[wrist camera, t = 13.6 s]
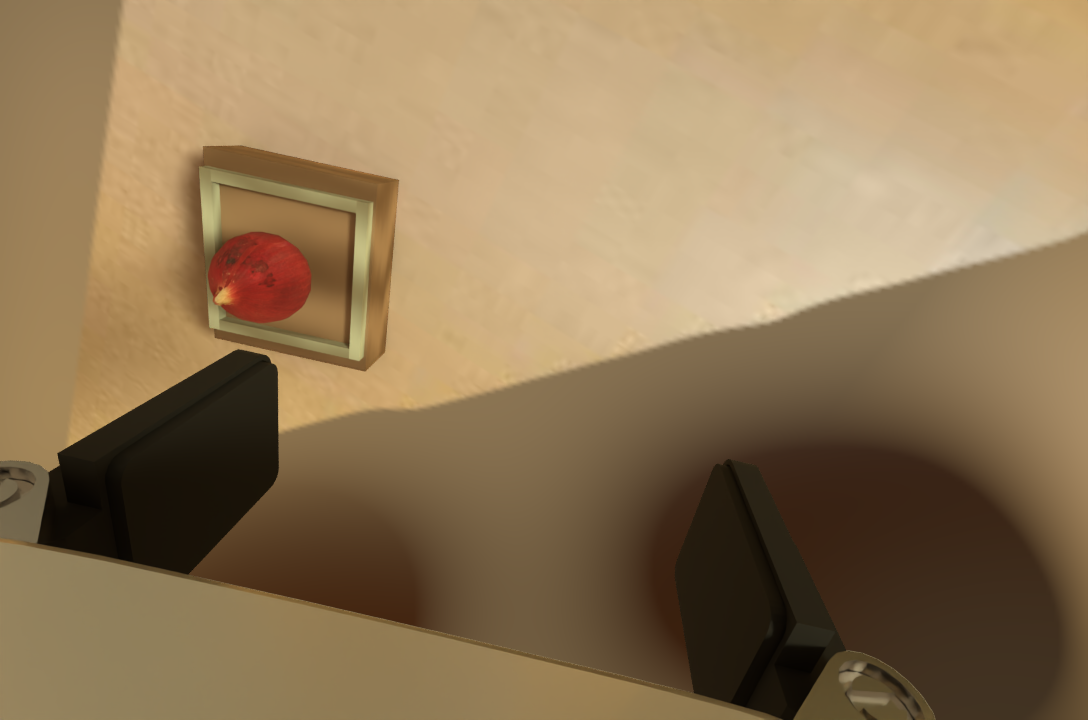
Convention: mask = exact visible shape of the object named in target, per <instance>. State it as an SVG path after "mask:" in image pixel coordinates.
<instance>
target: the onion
mask: <svg viewBox="0 0 1088 720" xmlns="http://www.w3.org/2000/svg"><path fill="white" fill-rule="evenodd" d="M208 281H209V287H210V291H211V293H212V295H213V302H214V303H215V305H219V306H221V307H222V308H223V309H224V310H225V311H226V312H228V313H230V314H232V315H234V316H236V317H237V318H239V319H242V320H245V321H250V322H256V323H269V322H275V321H280V320H284V319H286V318H289V317H290V316H291V315H293V314H294V313H295V312H297V311H298V310H299V309H301V308H302V306H303V305H304V304H305V302H306V300H307V298H308V296H309V293H310V291H311V271H310V268H309V265H308V262H307V260H306V258H305V257H304V256H303V254H302V253H301V252H300V250H299V249H298V248H297V247H296V246H294V245H293V244H291V243H290V242H288V241H287V240H286V239H284V238H282V237H281V236H279V235H275V234H270V233H265V232H250V233H246V234H243V235H240V236H236V237H234V238H232V239H229V240H228V241H227V242H226V243H225V244H224V245H223V246H222V247H221V248H220V249H219V250H218V252H217V253H216V254H215V255H214V256H213V258H212V260H211V264H210V267H209V271H208Z"/></svg>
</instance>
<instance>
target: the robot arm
mask: <svg viewBox="0 0 1088 720" xmlns="http://www.w3.org/2000/svg"><path fill="white" fill-rule="evenodd" d="M58 459H59V464H60V466H58V467H57V468H55V469H53V470H52V471H50V472H47V470H45V469H44V468H43V467H42V466H40V465H37V464H34V463H31V462H25V461H0V720H936V719H935V717H934V714H933V712H932V710H931V709H930V707H929V706H928V704H927V703H926V701H925V699H924V698H923V696H922V695H921V694H920V693H919V692H918V691H917V690H916V689H915V688H914V687H913V685H912V684H911V683H910V682H909V681H908V680H906V679H905V678H904V677H903V676H902V675H900V674H899V673H898V672H896V671H895V670H894V669H893V668H891V667H890V666H888V665H886V664H885V663H883V662H881V661H880V660H878V659H876V658H873V657H871V656H868V655H866V654H863V653H859V652H853V651H846V649H845V647H844V645H843V643H842V641H841V638H840V636H839V634H838V632H837V630H836V628H835V626H834V624H833V622H832V620H831V617H830V616H829V613H828V611H827V609H826V607H825V605H824V603H823V601H822V599H821V596H820V594H819V592H818V590H817V588H816V586H815V584H814V582H813V580H812V578H811V576H810V573H809V572H808V569H807V567H806V565H805V563H804V561H803V559H802V557H801V555H800V553H799V550H798V548H797V546H796V545H795V543H794V542H793V540H792V538H791V536H790V534H789V532H788V530H787V528H786V526H785V523H784V521H783V519H782V517H781V515H780V513H779V511H778V509H777V506H776V504H775V502H774V500H773V498H772V496H771V494H770V492H769V490H768V487H767V485H766V483H765V482H764V479H763V477H762V475H761V473H760V471H759V469H758V467H757V466H756V465H752V464H748V463H743V462H739V461H735V460H730V459H728V460H726V461H725V462H724V464H723V465H721V464H716V465H715V467H714V468H713V470H712V472H711V475H710V478H709V480H708V483H707V485H706V488H705V490H704V493H703V495H702V498H701V500H700V503H699V506H698V508H697V510H696V513H695V516H694V518H693V521H692V523H691V526H690V528H689V531H688V534H687V536H686V538H685V541H684V543H683V546H682V549H681V551H680V554H679V556H678V559H677V562H676V566H675V581H676V588H677V594H678V599H679V605H680V612H681V617H682V624H683V630H684V636H685V642H686V648H687V654H688V659H689V666H690V672H691V678H692V684H693V690H694V693H691V692H688V691H683V690H679V689H675V688H671V687H666V686H662V685H658V684H653V683H650V682H646V681H642V680H638V679H633V678H630V677H626V676H622V675H618V674H614V673H610V672H606V671H601V670H597V669H593V668H588V667H585V666H580V665H576V664H572V663H568V662H564V661H559V660H555V659H551V658H547V657H542V656H537V655H534V654H530V653H525V652H521V651H517V650H513V649H509V648H504V647H500V646H496V645H492V644H488V643H484V642H479V641H475V640H471V639H466V638H462V637H458V636H454V635H449V634H445V633H441V632H436V631H432V630H428V629H423V628H419V627H415V626H411V625H406V624H402V623H397V622H393V621H389V620H385V619H380V618H376V617H371V616H367V615H363V614H359V613H354V612H350V611H346V610H341V609H337V608H332V607H328V606H324V605H320V604H315V603H311V602H306V601H302V600H297V599H293V598H288V597H285V596H280V595H276V594H271V593H267V592H262V591H258V590H253V589H249V588H244V587H240V586H236V585H231V584H227V583H222V582H218V581H213V580H209V579H205V578H200V577H196V576H191V575H188V574H189V573H190V572H191V571H192V570H193V569H194V568H195V567H196V566H197V565H198V564H199V563H200V562H201V561H202V559H203V558H204V557H205V556H206V555H207V554H208V553H209V552H210V551H211V550H212V549H213V548H214V547H215V546H216V545H217V544H218V542H219V541H220V540H221V539H222V538H223V537H224V536H225V535H226V534H227V533H228V532H229V531H230V530H231V529H232V528H233V526H235V525H236V523H237V522H238V521H239V520H240V519H241V518H242V517H243V516H244V515H245V514H246V513H247V512H248V511H249V510H250V509H251V508H252V507H253V505H255V503H256V502H257V501H258V500H259V499H260V498H261V497H262V496H263V495H264V494H265V493H266V492H267V491H268V490H269V488H271V486H272V485H273V484H274V482H275V480H276V478H277V475H278V469H279V461H278V459H279V458H278V371H277V367H276V365H274V364H271V361H270V358H269V357H268V356H267V355H262V354H258V353H253V352H249V351H244V350H239V349H238V350H235V351H233V352H232V353H230V354H228V355H226V356H225V357H223V358H221V359H219V360H218V361H216V362H214V363H213V364H211V365H209V366H207V367H206V368H204V369H202V370H201V371H199V372H197V373H195V374H194V375H192V376H190V377H188V378H187V379H185V380H183V381H182V382H180V383H178V384H176V385H175V386H173V387H171V388H169V389H168V390H166V391H164V392H163V393H161V394H159V395H157V396H156V397H154V398H152V399H150V400H149V401H147V402H145V403H144V404H142V405H140V406H138V407H137V408H135V409H133V410H131V411H130V412H128V413H126V414H125V415H123V416H121V417H119V418H118V419H116V420H114V421H112V422H111V423H109V424H107V425H106V426H104V427H102V428H100V429H99V430H97V431H95V432H93V433H92V434H90V435H88V436H87V437H85V438H83V439H81V440H80V441H78V442H76V443H75V444H73V445H71V446H69V447H68V448H66V449H64V450H63V451H61V452H59V453H58Z"/></svg>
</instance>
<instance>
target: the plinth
mask: <svg viewBox="0 0 1088 720" xmlns="http://www.w3.org/2000/svg"><path fill="white" fill-rule="evenodd" d="M203 154H204V166H199V178H200V193H201V208H202V223H203V239H204V254H205V269H206V284H207V299H208V315H209V328H214V332H215V338H218V339H223V340H227V341H231V342H236V343H240V344H245V345H249V346H254V347H258V348H263V349H267V350H272V351H276V352H281V353H285V354H289V355H294V356H298V357H303V358H307V359H312V360H316V361H321V362H325V363H330V364H334V365H339V366H343V367H347V368H352V369H356V370H361V371H366V370H367V369H368V368H369V367H370V366H371V365H372V364H373V363H374V362H375V361H376V360H377V359H378V358H380V357H381V356H382V355H383V354H384V353H385V345H386V333H387V320H388V308H389V295H390V283H391V270H392V258H393V245H394V233H395V220H396V208H397V196H398V183H399V180H396V179H391V178H387V177H382V176H378V175H373V174H369V173H364V172H359V171H355V170H350V169H346V168H341V167H336V166H332V165H327V164H323V163H318V162H314V161H309V160H304V159H300V158H295V157H291V156H286V155H281V154H277V153H272V152H268V151H263V150H259V149H254V148H249V147H245V146H203ZM250 232H265V233H270V234H275V235H279V236H281V237H282V238H284V239H286V240H287V241H288V242H290V243H291V244H293V245H294V246H296V247H297V248H298V249H299V250H300V252H301V253H302V254H303V256H304V257H305V258H306V260H307V262H308V265H309V268H310V271H311V291H310V293H309V296H308V298H307V300H306V302H305V304H304V305H303V306H302V308H301V309H299V310H298V311H297V312H295V313H294V314H293V315H291V316H290V317H289V318H286V319H284V320H280V321H275V322H269V323H256V322H250V321H245V320H242V319H239V318H237V317H236V316H234V315H232V314H230V313H228V312H226V311H225V310H224V309H223V308H222V307H221V306H219V305H215V303H214V302H213V295H212V293H211V291H210V287H209V281H208V271H209V267H210V264H211V260H212V258H213V256H214V255H215V254H216V253H217V252H218V250H219V249H220V248H221V247H222V246H223V245H224V244H225V243H226V242H227V241H228V240H229V239H232V238H234V237H236V236H240V235H243V234H246V233H250Z"/></svg>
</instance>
